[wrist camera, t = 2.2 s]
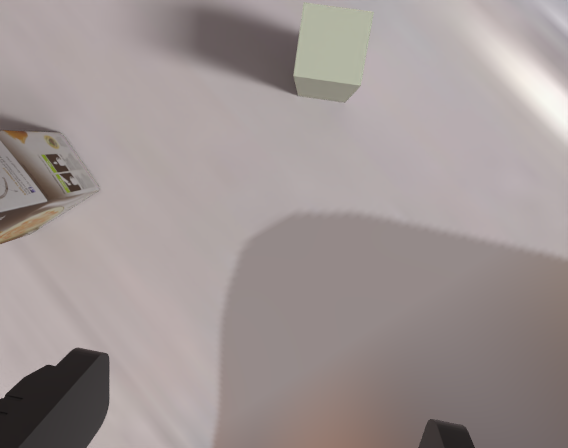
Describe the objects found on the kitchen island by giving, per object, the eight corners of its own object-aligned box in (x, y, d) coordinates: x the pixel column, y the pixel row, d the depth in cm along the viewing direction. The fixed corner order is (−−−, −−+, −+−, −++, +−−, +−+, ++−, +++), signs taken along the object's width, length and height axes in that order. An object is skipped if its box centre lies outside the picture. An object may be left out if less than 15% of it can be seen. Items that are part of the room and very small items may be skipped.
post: (353, 52, 32) (373, 11, 22) (345, 102, 33) (360, 85, 23) (305, 45, 32) (303, 2, 22) (298, 95, 33) (293, 76, 23)
